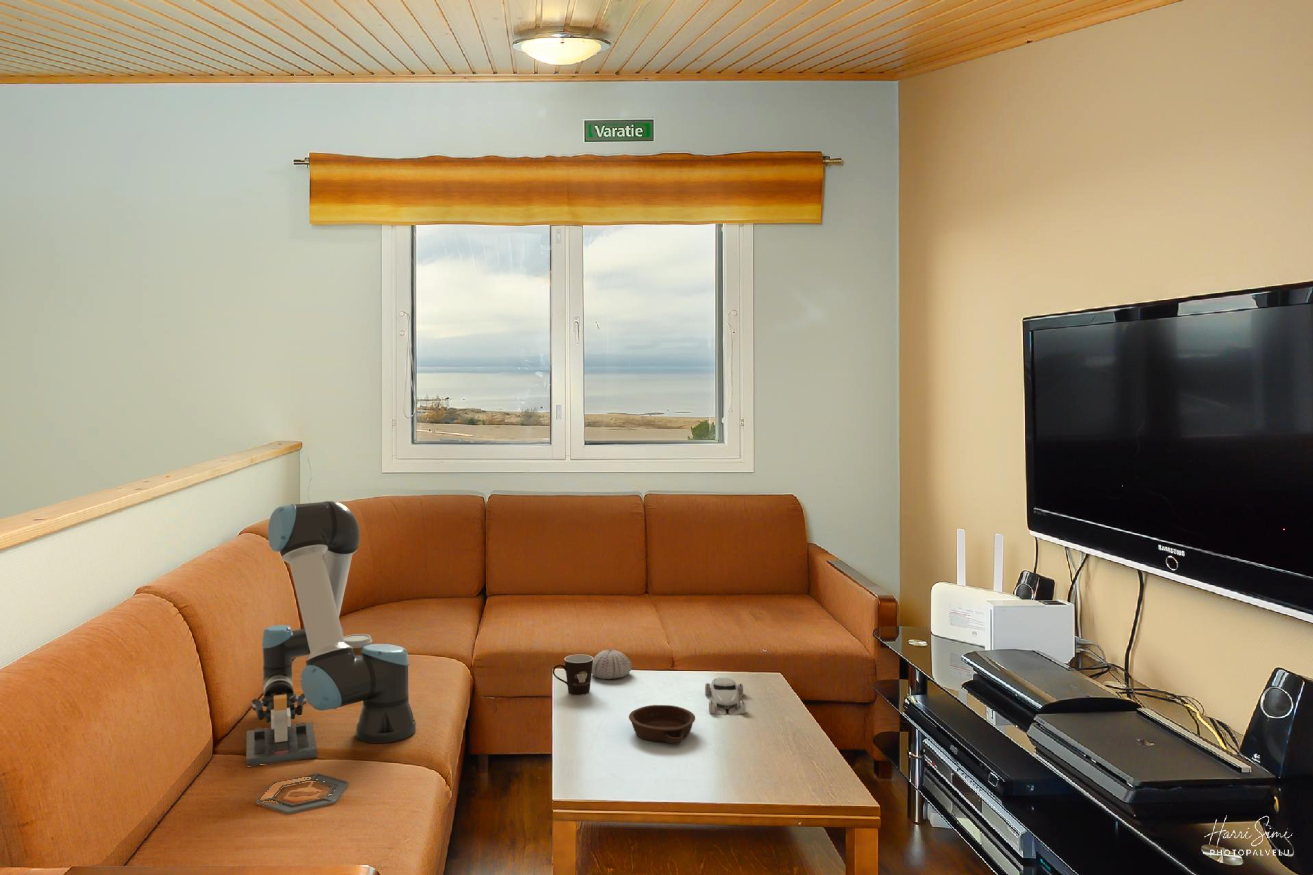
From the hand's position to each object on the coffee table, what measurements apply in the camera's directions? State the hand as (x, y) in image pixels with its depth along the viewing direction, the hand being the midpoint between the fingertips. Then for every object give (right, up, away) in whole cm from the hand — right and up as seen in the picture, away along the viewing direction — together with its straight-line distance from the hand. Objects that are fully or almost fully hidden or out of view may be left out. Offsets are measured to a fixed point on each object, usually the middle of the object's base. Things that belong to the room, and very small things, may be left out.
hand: (281, 722), depth 234 cm
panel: (-2, -8, +6) cm, 10 cm away
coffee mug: (+68, -6, +50) cm, 85 cm away
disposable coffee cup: (-2, -5, +65) cm, 65 cm away
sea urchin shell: (+78, -5, +66) cm, 102 cm away
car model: (+113, -7, +43) cm, 121 cm away
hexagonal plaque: (+13, -10, -21) cm, 27 cm away
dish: (+94, -8, +17) cm, 96 cm away
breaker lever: (-2, -6, +5) cm, 8 cm away
